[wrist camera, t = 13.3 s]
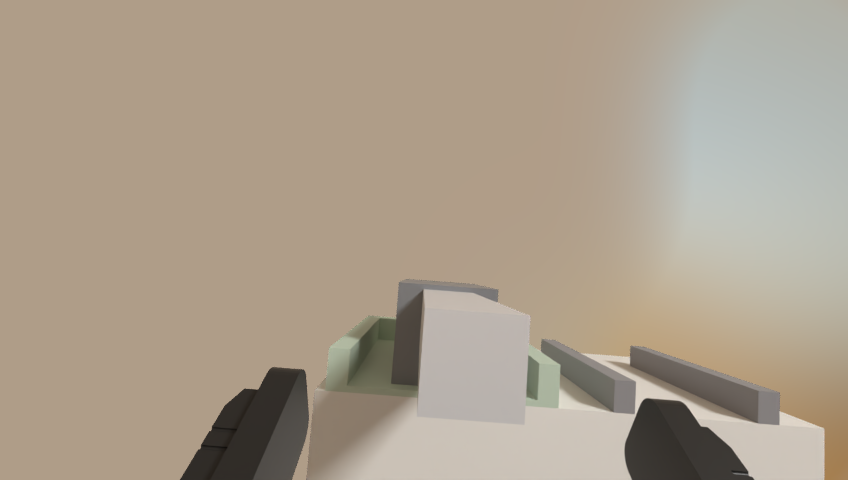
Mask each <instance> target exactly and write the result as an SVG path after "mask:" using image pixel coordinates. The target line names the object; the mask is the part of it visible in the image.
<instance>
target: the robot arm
mask: <svg viewBox="0 0 848 480" xmlns="http://www.w3.org/2000/svg"><path fill="white" fill-rule="evenodd" d="M308 421H309V412H308V399H307V385H306V374H305V371H304V370H302V369H289V368H277V367H272V368H271V369H270V370H269V371H268V373H267V375H266V377H265V378H264V380H263V382H262V384H261V386H260V388H259V389H258V390H254V389H244V390H242V391H241V392H240V393H239V394H238V395H237V396H236V397H234V398H233V399H232V400H231V401H230V402H229V403H227V404H226V405H225V406H224V408H223V410H222V411H221V413H220V415H219V416H218V418H217V420H216V421H215V423H214V425H213V426H212V430H211V431H209V433H208V434H207V436H206V438H205V439H204V441H203V443H202V444H201V449H200V450H198V451H197V453H196V454H195V456H194V458H193V459H192V461H191V463H190V464H189V466H188V468H187V469H186V471H185V473H184V474H183V476H182V478H181V479H180V480H292V477H293V475H294V472H295V468H296V466H297V463H298V460H299V457H300V454H301V451H302V448H303V445H304V442H305V439H306V434H307V429H308ZM624 454H625V462H626V466H627V469H628V472H629V474H630V477H631V479H632V480H754V479H753V477H751V476H749V474H748V470H747V469H746V467H745V466H744V465H743V463H742V462H741V461H740V459H739V458H738V456H737V455H736V454H735V452H734V451H733V450H732V448H731V447H730V446H729V445H727V444H726V443H725V442H724V441H723V440H722V439H721V438H720V437H718V436H717V435H716V434H715V433H714V432H713V431H712V430H710V429H709V428H708V427H701V426H700V424H699V423H698V421H697V420H696V418H695V417H694V416H693V414H692V413H691V411H690V410H689V408H688V407H687V406H686V405H685V404H684V403H683V402H681V401H677V400H664V399H651V398H646V399H644V400H643V401H642V402H641V404H640V407H639V409H638V412H637V414H636V417H635V419H634V422H633V424H632V427H631V429H630V432H629V434H628V437H627V439H626V442H625V449H624Z"/></svg>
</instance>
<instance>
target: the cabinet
mask: <svg viewBox="0 0 848 480" xmlns="http://www.w3.org/2000/svg"><path fill="white" fill-rule="evenodd" d="M395 328H396V318H393V317H380V316H368V317H367V318H365V319H364V320H363V321H362V322H360V323H359V324H358V325H357V326H355V327H354V328H353V329H352V330H351V331H349V332H348V333H347V334H346V335H344V336H343V337H342V338H341V339H339V340H338V341H337V342H336V343H334V344H333V345H332V346H331V347H330V348H329V356H328V367H327V377H326V378H325V379H324V380H323V381H322V383H321V384H320V385H319V386H318V387H317V388H316V389H315V393H314V403H313V414H312V424H311V436H310V446H309V457H308V468H307V478H306V480H632V479H631V477H630V474H629V472H628V469H627V466H626V462H625V454H624V449H625V442H626V439H627V437H628V434H629V432H630V429H631V427H632V424H633V422H634V419H635V417H636V414H637V412H638V409H639V407H640V404H641V402H642V401H643V400H644V399H646V398H651V399H664V400H677V401H681V402H683V403H684V404H685V405H686V406H687V407H688V408H689V410H690V411H691V413H692V414H693V416H694V417H695V418H696V420H697V421H698V423H699V424H700V426H701V427H708V428H709V429H710V430H712V431H713V432H714V433H715V434H716V435H717V436H718V437H720V438H721V439H722V440H723V441H724V442H725V443H726V444H727V445H729V446H730V447H731V448H732V450H733V451H734V452H735V454H736V455H737V456H738V458H739V459H740V461H741V462H742V463H743V465H744V466H745V467H746V469H747V470H748V474H749V476H751V477H753V479H754V480H824V428H821V427H818V426H816V425H814V424H811V423H808V422H806V421H803V420H801V419H798V418H796V417H793V416H790V415H787V414H785V413H783V412H780V410H779V409H780V393H779V392H777V391H774V390H771V389H768V388H765V387H761V386H759V385H756V384H753V383H750V382H747V381H744V380H741V379H738V378H735V377H732V376H729V375H726V374H723V373H720V372H717V371H714V370H711V369H708V368H705V367H702V366H699V365H696V364H693V363H690V362H687V361H684V360H681V359H678V358H675V357H672V356H669V355H666V354H663V353H661V352H658V351H655V350H652V349H648V348H646V347H639V346H631V349H630V357H623V356H609V355H596V354H582V353H579V352H577V351H575V350H573V349H571V348H569V347H567V346H565V345H563V344H561V343H559V342H557V341H555V340H546V339H542V342H541V343H542V344H541V350H537V349H536V348H534V347H533V346H531V345H530V344H529V351H528V370H527V388H526V407H525V425H520V424H507V423H493V422H480V421H467V420H454V419H441V418H428V417H417V398H418V386H414V385H401V384H391V378H392V366H393V353H394V340H395Z"/></svg>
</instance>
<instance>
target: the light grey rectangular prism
mask: <svg viewBox="0 0 848 480" xmlns="http://www.w3.org/2000/svg"><path fill="white" fill-rule="evenodd" d="M497 301H498V290H497V289H493V288H488V287H484V286H479V285H475V284H466V283H452V282H438V281H426V280H411V279H406V280H403V281H401V282H399V290H398V303H397V315H396V328H395V340H394V353H393V366H392V378H391V384H401V385H414V386H418V398H417V417H428V418H441V419H454V420H467V421H480V422H493V423H507V424H520V425H525V407H526V388H527V370H528V351H529V333H530V316H529V315H527V314H524V313H522V312H520V311H517V310H515V309H512V308H510V307H507V306H505V305H502V304H499V303H497Z"/></svg>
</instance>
